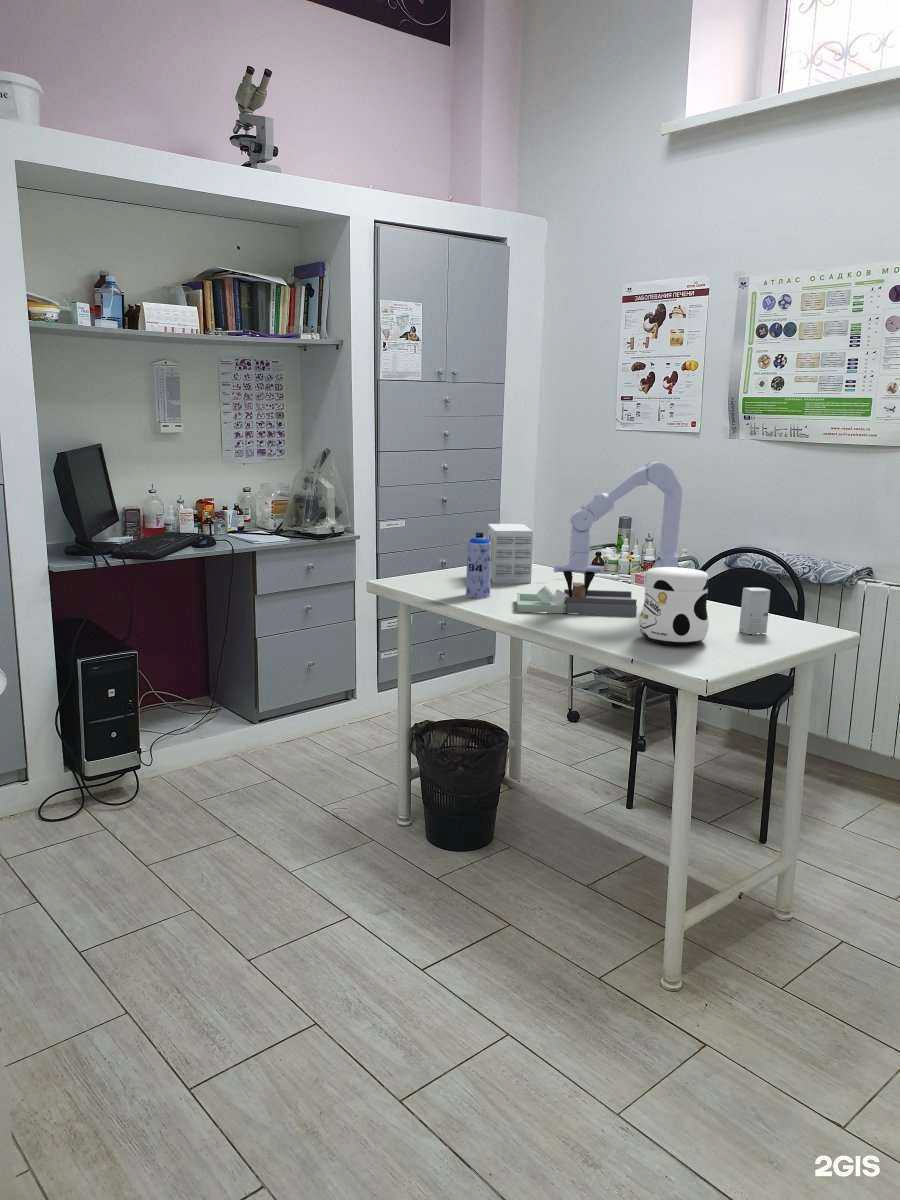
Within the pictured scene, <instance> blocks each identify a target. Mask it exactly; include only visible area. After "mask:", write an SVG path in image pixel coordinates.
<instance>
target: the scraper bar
mask: <svg viewBox="0 0 900 1200" xmlns="http://www.w3.org/2000/svg"><path fill="white" fill-rule="evenodd" d="M572 589H573V591H572V596H573V597H583V598H585V587H584V582H572Z"/></svg>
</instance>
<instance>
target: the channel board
mask: <svg viewBox="0 0 900 1200" xmlns="http://www.w3.org/2000/svg"><path fill="white" fill-rule="evenodd" d="M572 591H573V588H572ZM563 592H564V593H565V594H567V595H568V596H567V598H566V599H565V603H566V613H578V614H577V615H586V614H601V615H600V616H616V615H617V616H618V617H619V616H620V617H621V616H622V617H623V616H624V617H637V611H638V609H637V608H638V606H637V599H636V598H633V597H632V591H631V590H630V591H629V590H628V591H627V590H603V589H601V590H599V589H588V591H587V594H586V598H583V597H573V596H572V597H569V590H568V588H565V589H563Z"/></svg>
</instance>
